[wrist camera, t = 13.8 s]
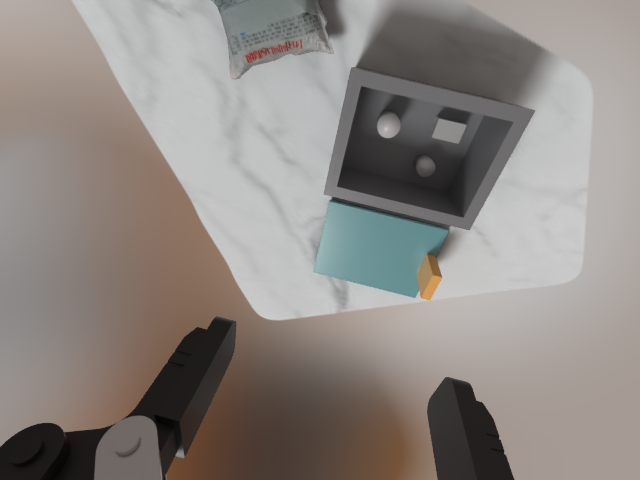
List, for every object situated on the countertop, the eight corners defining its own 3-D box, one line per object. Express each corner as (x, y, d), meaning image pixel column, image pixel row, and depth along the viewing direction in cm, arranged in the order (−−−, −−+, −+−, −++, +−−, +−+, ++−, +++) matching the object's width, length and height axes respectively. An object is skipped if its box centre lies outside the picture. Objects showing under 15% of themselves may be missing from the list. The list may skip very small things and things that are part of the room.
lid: (314, 266, 47) (307, 293, 42) (330, 197, 40) (324, 218, 35) (414, 291, 47) (419, 321, 41) (446, 225, 40) (458, 251, 35)
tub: (332, 171, 38) (323, 194, 31) (355, 66, 32) (351, 67, 25) (451, 200, 38) (469, 230, 31) (500, 100, 31) (535, 110, 25)
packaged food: (336, 54, 32) (330, 52, 27) (237, 79, 34) (219, 80, 30) (320, -52, 28) (311, -74, 23) (210, -15, 30) (184, -29, 26)
